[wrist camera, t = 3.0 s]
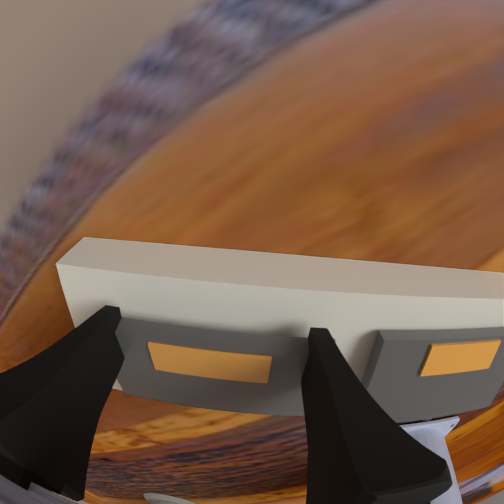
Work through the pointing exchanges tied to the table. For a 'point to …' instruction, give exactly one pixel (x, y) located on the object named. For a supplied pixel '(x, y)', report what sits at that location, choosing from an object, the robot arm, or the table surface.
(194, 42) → the table surface
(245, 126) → the table surface
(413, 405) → the rocker
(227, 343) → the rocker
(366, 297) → the rocker switch panel
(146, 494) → the french press
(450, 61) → the table surface
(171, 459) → the table surface
